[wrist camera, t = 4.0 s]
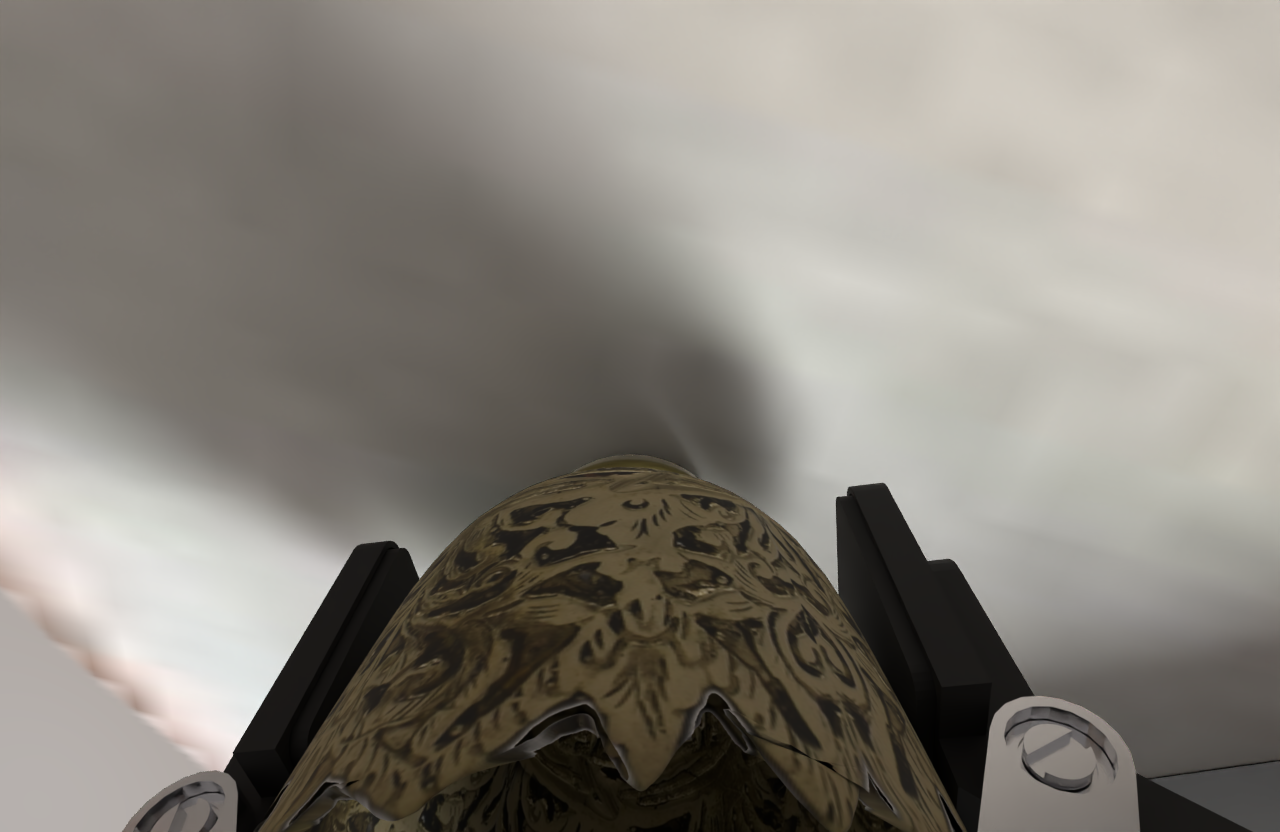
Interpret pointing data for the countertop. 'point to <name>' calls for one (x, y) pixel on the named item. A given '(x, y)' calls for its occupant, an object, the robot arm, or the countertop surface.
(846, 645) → the brown patterned lamp shade
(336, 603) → the robot arm
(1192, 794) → the crate
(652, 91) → the countertop surface
